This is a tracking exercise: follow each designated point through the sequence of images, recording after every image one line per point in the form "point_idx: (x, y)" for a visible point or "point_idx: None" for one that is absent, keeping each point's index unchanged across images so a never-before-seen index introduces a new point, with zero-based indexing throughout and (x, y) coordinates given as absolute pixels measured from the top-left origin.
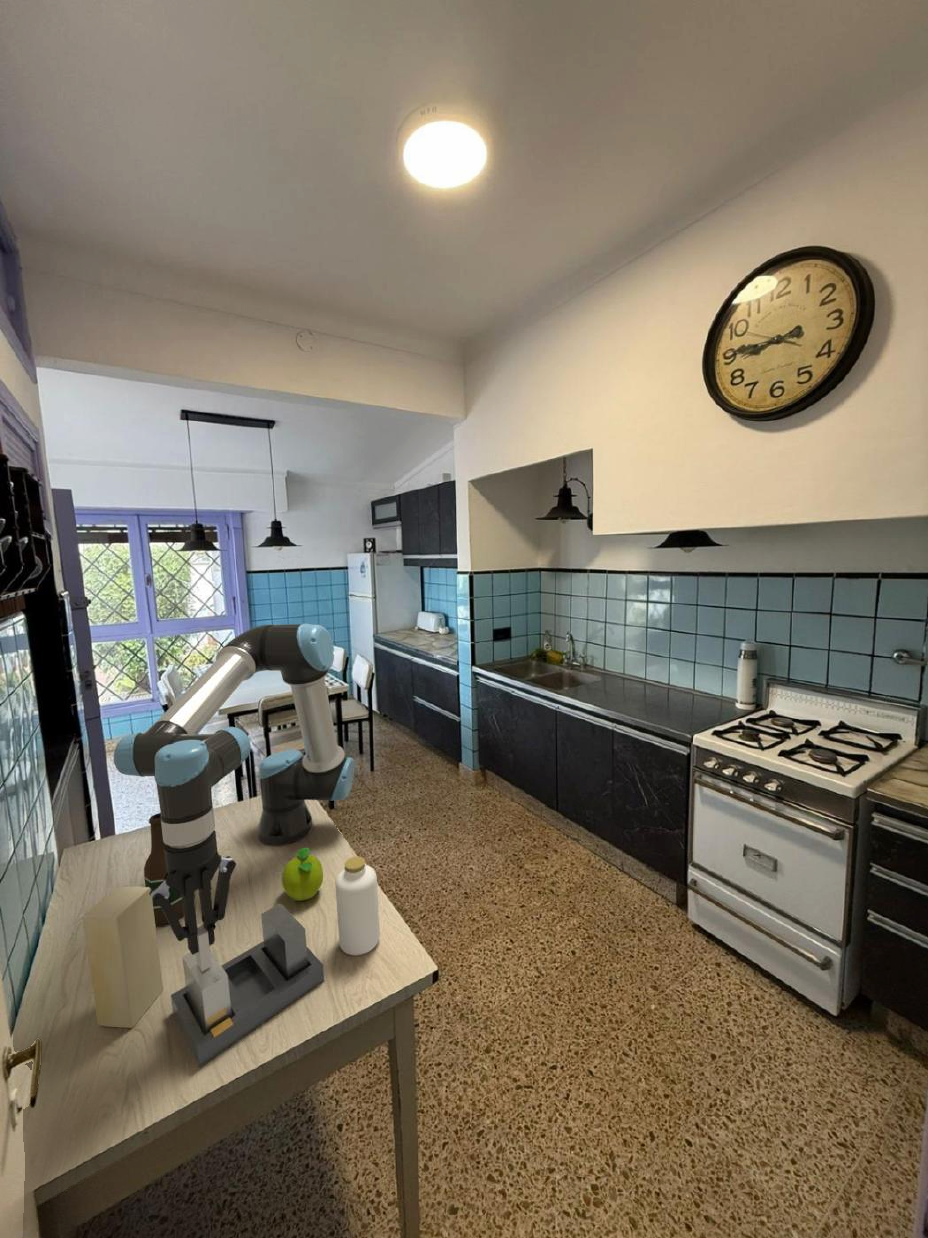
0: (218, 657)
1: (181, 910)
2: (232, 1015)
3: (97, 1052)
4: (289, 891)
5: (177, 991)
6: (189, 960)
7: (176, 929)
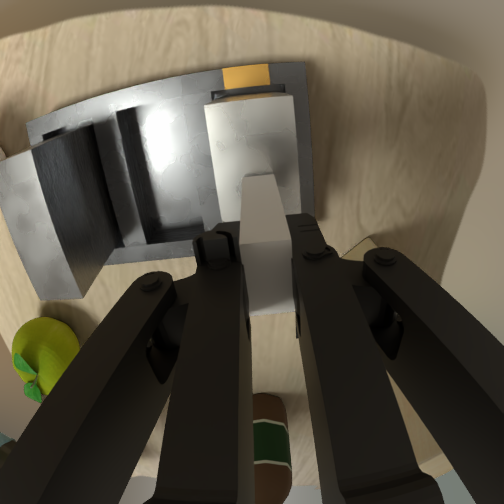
0: None
1: None
2: None
3: (413, 226)
4: (67, 344)
5: None
6: None
7: (432, 297)
